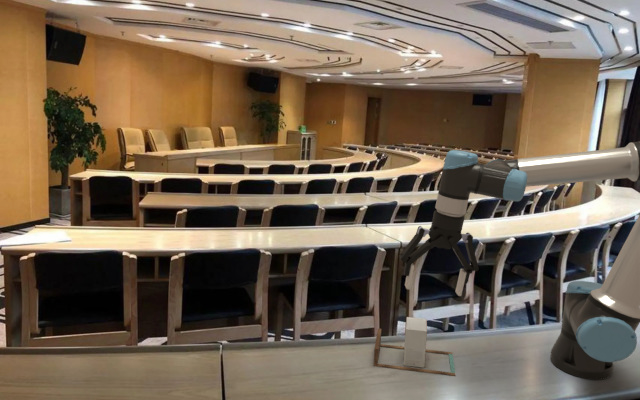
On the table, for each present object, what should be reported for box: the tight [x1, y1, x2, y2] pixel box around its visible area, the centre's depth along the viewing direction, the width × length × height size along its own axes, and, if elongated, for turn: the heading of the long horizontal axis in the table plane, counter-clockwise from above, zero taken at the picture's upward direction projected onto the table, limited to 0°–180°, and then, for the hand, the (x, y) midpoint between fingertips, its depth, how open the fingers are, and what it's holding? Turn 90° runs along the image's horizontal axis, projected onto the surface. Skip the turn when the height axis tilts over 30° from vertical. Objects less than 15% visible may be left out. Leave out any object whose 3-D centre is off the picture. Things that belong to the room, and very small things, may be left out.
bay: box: [373, 328, 456, 377], centre depth 136 cm, size 21×12×5 cm, turn 79°
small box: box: [403, 316, 428, 369], centre depth 136 cm, size 8×6×10 cm
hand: (432, 290), depth 131 cm, fingers open, 13 cm apart
